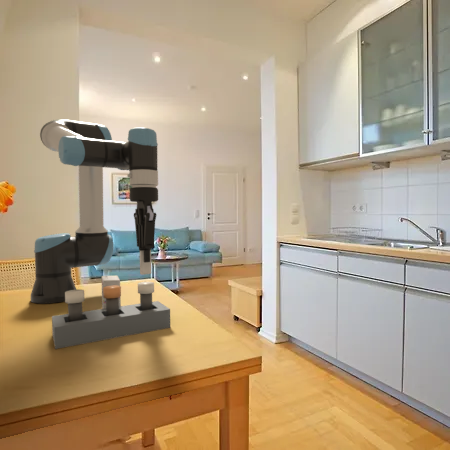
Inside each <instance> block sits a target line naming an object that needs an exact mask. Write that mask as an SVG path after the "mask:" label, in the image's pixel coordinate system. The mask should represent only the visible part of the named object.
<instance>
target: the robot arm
mask: <svg viewBox="0 0 450 450" xmlns="http://www.w3.org/2000/svg"><path fill="white" fill-rule="evenodd" d="M127 135H128V136H127V141H126V142H124V141H116V140H113V138H112V134H111V132H110V129H109V128H108V127H107V126H106V125H103V124H99V123H97V122H96V123H95V122H87V121H79V120H72V119H65V118H63V119H61V118H60V119H55V120H54V119H53V120H50V121H48V122H46V123H45V124H43V126H42V127H41V129H40V133H39V136H40V137H39V138H40V141H41V143H42V144H43V146H45V147H46V148H47V149H48V150H50V151H52V152H53V151H54V152H56V153H57V152H58V158H59V161H60V163H62V164H63V165H68V166H73V167H78V196H79V197H78V199H79V200H78V201H79V202H78V207H79V211H78V212H79V213H78V215H79V226H78V228H77V229H76V230H75V232H74V233H75V236H71V234H70V233H69V232H64V233H55V234H54V233H53V234H50V235H49V234H48V235H44V236H40V237H38V238H36V240H35V241H34V250H33V252H34V266H35V268H34V269H35V280H34V283H33V286H32V290H31V292H30V302H31V303H33V304H44V305H45V304H56V303H57V304H58V303H61V302H65V292H66V291H69V290H78V289H77V287H76V285H75V281H74V280H73V279H74V278H73V277H72V269H74V268H83V267H92V266H95V267H98V266H101V265H102V266H103V265H106V264H108V263H109V262H110V261H111V259H112V256H113V253H114V240H113V237H112V235H111V234H109V232H108V231H109V230H108V229H107V228H105V226H104V169H103V168H105V169H106V168H110V169H117V170H120V171H129V172H128V173H127V176H126V177H127V178H128V179H129V186H130V189H129V201H130V202H132V203H133V202H135V203H136V208H135V210H134V211H135V212H134V213H133V218H134V225H135V236H136V247H138V251H139V274H140V275H142V276H143V275H151V274H152V250H153V249H154V248H155V231H156V230H155V229H156V220H157V212H155V211H154V208H153V203H155V202H158V200H159V188H158V185H159V170H158V145H159V144H158V138H157V132H156V131H155V130H154V129H152V128H148V127H132V128H130V129H129V130H128V134H127Z"/></svg>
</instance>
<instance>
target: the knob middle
mask: <svg viewBox="0 0 450 450" xmlns="http://www.w3.org/2000/svg"><path fill="white" fill-rule="evenodd" d="M103 297H104V298H106V316H112V315H118V314H119V297H120V298H121V297H122V286H121V285H120V286H118V285H112V286H106V287H103Z"/></svg>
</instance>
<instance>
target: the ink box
mask: <svg viewBox="0 0 450 450" xmlns="http://www.w3.org/2000/svg"><path fill="white" fill-rule="evenodd" d="M112 285H118V286H121V280H120V278H119V276H118V274H117V275H102V276H101V309H106V298H104V297H103V287H106V286H112ZM121 301H122V300H121V296H120V297H119V307H120V306H122V304H121Z"/></svg>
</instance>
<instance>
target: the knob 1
mask: <svg viewBox="0 0 450 450" xmlns="http://www.w3.org/2000/svg"><path fill="white" fill-rule="evenodd" d="M84 301H85V290H84V289H77V290H69V291H66V292H65V301H64V303H65V304H67V311H68V312H67V314H68V321H69V322H73V321H79V320H82V312H83V302H84Z"/></svg>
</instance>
